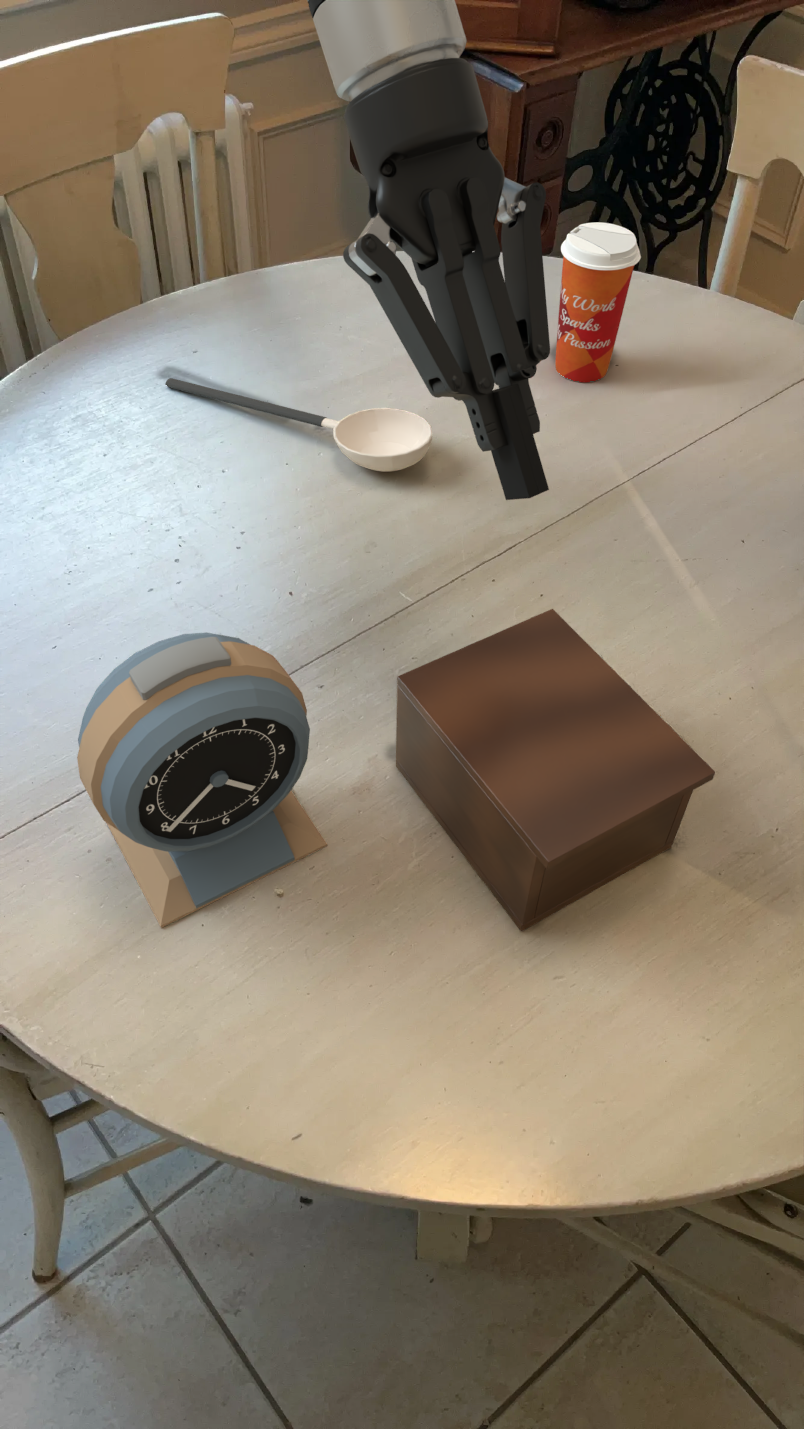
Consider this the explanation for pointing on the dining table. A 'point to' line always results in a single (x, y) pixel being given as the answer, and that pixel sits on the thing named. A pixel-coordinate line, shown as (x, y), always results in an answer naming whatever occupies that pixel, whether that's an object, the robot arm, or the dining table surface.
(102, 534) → the dining table surface
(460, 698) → the box lid
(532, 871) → the keepsake box
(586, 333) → the paper cup
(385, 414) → the ladle
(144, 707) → the alarm clock
